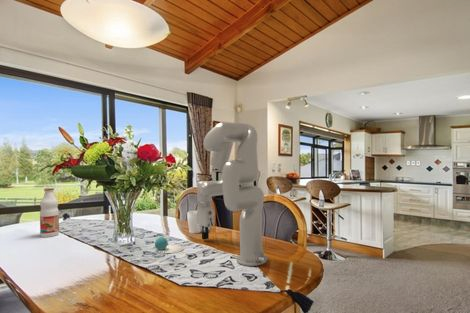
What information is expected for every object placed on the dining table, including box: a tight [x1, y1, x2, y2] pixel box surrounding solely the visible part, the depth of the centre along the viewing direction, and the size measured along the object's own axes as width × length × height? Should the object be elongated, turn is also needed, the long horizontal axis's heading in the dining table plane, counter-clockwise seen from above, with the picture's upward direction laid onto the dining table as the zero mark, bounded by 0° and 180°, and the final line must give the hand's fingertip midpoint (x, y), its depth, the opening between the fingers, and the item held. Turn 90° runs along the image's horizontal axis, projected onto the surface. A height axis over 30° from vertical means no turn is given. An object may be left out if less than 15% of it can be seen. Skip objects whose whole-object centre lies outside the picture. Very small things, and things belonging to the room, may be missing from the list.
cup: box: [186, 210, 202, 234], centre depth 171 cm, size 9×9×12 cm
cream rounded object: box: [156, 244, 185, 254], centre depth 139 cm, size 13×13×1 cm
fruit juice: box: [39, 187, 60, 238], centre depth 170 cm, size 9×9×28 cm
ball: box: [154, 236, 169, 250], centre depth 138 cm, size 6×6×6 cm
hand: (205, 238), depth 151 cm, fingers closed
